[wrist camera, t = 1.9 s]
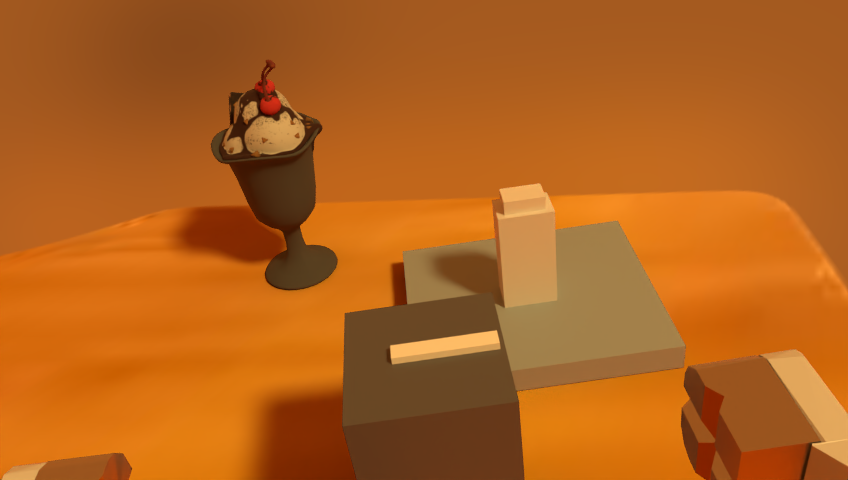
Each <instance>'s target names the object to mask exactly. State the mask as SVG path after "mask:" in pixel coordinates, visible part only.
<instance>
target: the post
mask: <svg viewBox="0 0 848 480" xmlns="http://www.w3.org/2000/svg"><path fill="white" fill-rule="evenodd" d="M492 204H493V216H494V228H495V238H494V239H487V240H480V241H474V242H467V243H460V244H453V245H446V246H439V247H432V248H425V249H418V250H411V251H404V252H403V260H404V271H405V282H406V293H407V304H413V303H420V302H426V301H433V300H440V299H447V298H454V297H461V296H468V295H475V294H482V293H489V292H492V294H493V298H494V302H495V306H496V310H497V314H498V319H499V323H500V327H501V331H502V335H503V339H504V343H505V347H506V351H507V355H508V359H509V363H510V367H511V372H512V376H513V380H514V384H515V388H516V391H521V390H528V389H535V388H542V387H549V386H556V385H563V384H570V383H577V382H584V381H591V380H598V379H605V378H612V377H619V376H626V375H633V374H640V373H647V372H654V371H661V370H668V369H675V368H682V367H684V359H685V349H686V345H685V344H684V342H683V340H682V338H681V336H680V334H679V333H678V331H677V329H676V327H675V325H674V323H673V322H672V320H671V318H670V316H669V314H668V312H667V311H666V309H665V307H664V305H663V303H662V301H661V300H660V298H659V296H658V294H657V292H656V290H655V289H654V287H653V285H652V283H651V281H650V279H649V278H648V276H647V274H646V272H645V270H644V268H643V267H642V265H641V263H640V261H639V259H638V257H637V255H636V254H635V252H634V250H633V248H632V246H631V244H630V243H629V241H628V239H627V237H626V235H625V233H624V232H623V230H622V228H621V226H620V224H619V222H618V221H612V222H605V223H598V224H592V225H585V226H578V227H571V228H564V229H557V230H555V211H554V208H553V206H552V204H551V201H550V199H549V196H548V194H547V192H546V193H544V192H543V189H542V187H541V184H540V183H539V184H532V185H525V186H518V187H511V188H505V189H500V199H496V200H492Z"/></svg>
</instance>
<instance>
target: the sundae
mask: <svg viewBox="0 0 848 480" xmlns="http://www.w3.org/2000/svg"><path fill="white" fill-rule="evenodd" d="M266 63H267V65H266V67H265V68H264V70H263V71H262V75H261V80H260V81H259V82H258V83H256V84H255V89H252V90H250V91H247V92H246V93H234V92H231V93H230V94H229V111H230V126H229V128H228V129H225V130H223V131H221V132H219V133H218V134H217V135H216V136H215V137H214V138H213V140H212V143H211V148H212V152H213V155H214V156H215V158H216V159H217V160H218V161H219V162H221V163H225V164H229V165H230V167H231V168H232V170H233V172H234V174H235V176H236V178H237V180H238V182H239V184H240V186H241V188H242V191H243V193H244V195H245V197H246V199H247V202H248V204H249V206H250V207H251V209H252V211H253V212H254V214H255V216H256V218H257V219H258V220H259V221H260V222H262V223H264V224H266V225H268V226H269V227H271V228H275V229H279V230H281V231H282V232H283V234H284V237H285V241H286V245H287V250H286V251H284V252H282V253H280V254H279V255H277V256H276V257H275V258H274V259H272V261H271V262H270V263H269V265H268V267H267V269H266V272H265V275H266V279H267V281H268V282H269V283H270V284H272V285H273V286H275V287H277V288H281V289H287V290H296V289H303V288H307V287H310V286H313V285H316V284H318V283H320V282H322V281H323V280H325V279H326V278H328V277H329V276H330V275H331V274H332V272H333V271H334V270H335V268H336V265H337V257H336V255H335V253H334V252H333V251H332V250H330V249H329V248H327V247H324V246H320V245H306V244H305V242H304V240H303V237H302V234H301V229H300V225H301V224H302V223H303V222H304V221H306V219H307V218H308V217H309V215H310V214H311V212H312V211H313V209H314V207H315V196H316V194H315V193H316V185H315V174H314V163H313V150H314V140H315V138H316V136H317V135H318V134H319V133H320V132H321V131H322V126H321V124H320V122H319V121H318V120H317V119H314V118H311V117H309V116H307V115H304V114H302V113H298V112H295V111H294V110H293V109H292V108H291V106H290V104H289V103H288V101H287V99H286V98H285V97H284V96H283V95H282V94H281V93H279V92H278V91H276V90H275V86H274V84H273V82H272V81H270V80H267V79H266V77H267V75H268V73H269V72H270V71H271V70H272V69H273V68H275V64H274V63H273V62H272V61H271V60H266ZM268 67H270V69H269V70H268V71H267V72H266V74H265V75H264V72H265V70H266V69H267V68H268Z"/></svg>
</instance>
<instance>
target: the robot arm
mask: <svg viewBox="0 0 848 480" xmlns="http://www.w3.org/2000/svg"><path fill="white" fill-rule="evenodd" d="M684 387H685V389H686V391H687V393H688V395H689V397H690V400H689V401H688V402H687V403H686V404H685V405H684V406H683V407H682V416H681V427H682V434H683V440H684V445H685V448H686V451H687V454H688V457H689V459H690V462H691V464H692V466H693V468H694V470H695V473H697V474H698V475H700V476H701V477H703V478H704V479H706V480H848V414H847V412H846V411H845V410H844V408H843V407H842V406H841V404H840V403H839V402H838V400H837V399H836V398H835V396H834V395H833V394H832V392H831V391H830V390H829V388H828V387H827V386H826V384H825V383H824V382H823V380H822V379H821V378H820V376H819V375H818V374H817V372H816V371H815V370H814V368H813V367H812V366H811V364H810V363H809V362H808V360H807V359H806V358H805V356H804V355H803V354H802V353H801V352H799V351H797V350H795V349H793V350H787V351H781V352H774V353H768V354H762V355H759V356H755V355H754V356H748V357H742V358H736V359H730V360H723V361H717V362H711V363H705V364H699V365H692V366H688V368H687V370H686V372H685V379H684ZM131 470H132V468H131V466H130V464H129V463H128V461H127V459H126V458H125V456H124V454H121V453H111V454H103V455H95V456H87V457H79V458H71V459H63V460H55V461H48V462H43V463H35V464H28V465H20V466H14V467H12V468H11V469H10V470H9V471H8V472H7V473H5V474H4V476H3V477H2V479H1V480H129V477H130V474H131Z"/></svg>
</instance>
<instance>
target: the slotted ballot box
mask: <svg viewBox="0 0 848 480" xmlns="http://www.w3.org/2000/svg"><path fill="white" fill-rule="evenodd" d="M342 427H343V431H344V435H345V438H346V442H347V446H348V450H349V453H350V457H351V461H352V464H353V468H354V472H355V475H356V479H357V480H524V466H523V452H522V438H521V425H520V411H519V400H518V396H517V392H516V388H515V384H514V380H513V376H512V372H511V367H510V363H509V359H508V355H507V351H506V347H505V343H504V339H503V335H502V331H501V327H500V323H499V319H498V314H497V310H496V306H495V302H494V298H493V294H492V292H489V293H482V294H475V295H468V296H461V297H454V298H447V299H440V300H433V301H426V302H420V303H413V304H406V305H399V306H392V307H385V308H378V309H371V310H364V311H357V312H350V313H345V328H344V373H343V419H342Z"/></svg>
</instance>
